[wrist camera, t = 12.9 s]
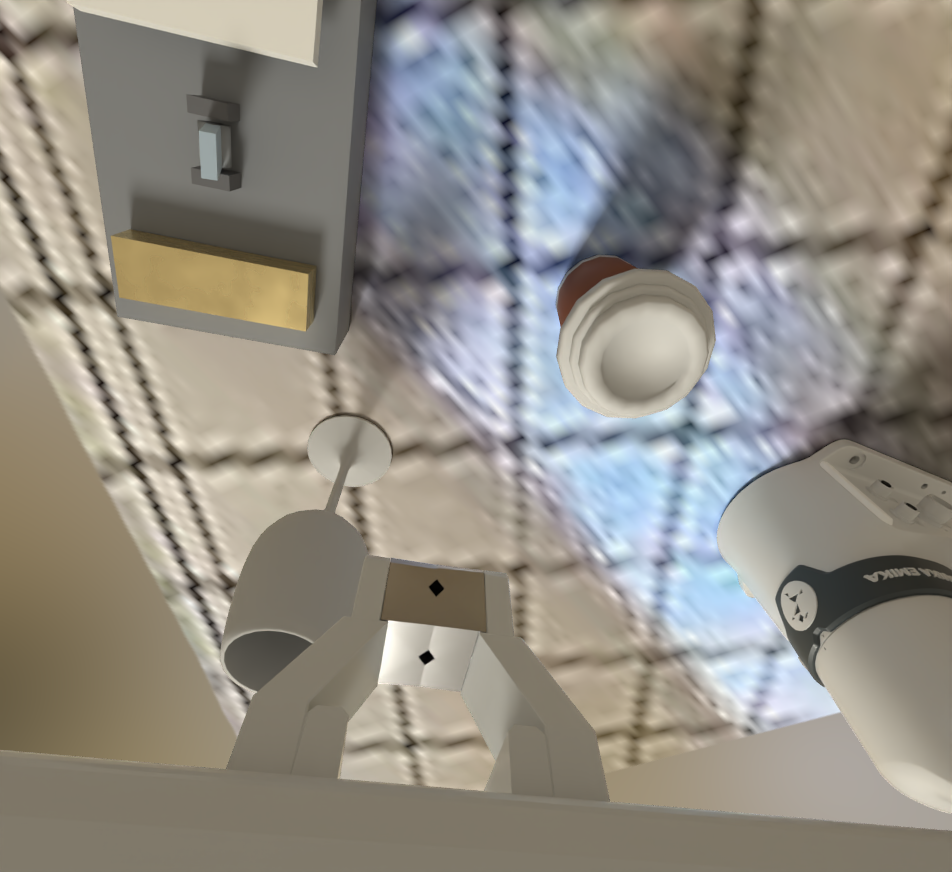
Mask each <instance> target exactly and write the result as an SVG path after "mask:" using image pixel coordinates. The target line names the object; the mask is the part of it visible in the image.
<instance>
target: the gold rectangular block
mask: <svg viewBox="0 0 952 872" xmlns="http://www.w3.org/2000/svg"><path fill="white" fill-rule="evenodd" d="M111 241H112V248H113V256H114V263H115V270H116V277H117V284H118V292H119V298H125V299H130V300H135V301H141V302H146V303H152V304H157V305H163V306H168V307H174V308H179V309H185V310H190V311H196V312H201V313H207V314H212V315H218V316H223V317H229V318H234V319H240V320H245V321H251V322H256V323H262V324H267V325H273V326H278V327H284V328H289V329H295V330H300V331H307V329H308V328H309V327H310V325H311V324H312V323H313V321H314V307H315V287H316V267H317V266H314V265H309V264H304V263H299V262H294V261H289V260H284V259H279V258H274V257H268V256H263V255H258V254H253V253H248V252H243V251H238V250H233V249H228V248H223V247H218V246H213V245H207V244H202V243H197V242H192V241H187V240H182V239H177V238H172V237H167V236H162V235H157V234H151V233H146V232H141V231H136V230H131V229H129V230H126V231H123V232H120V233H117V234H114V235H111Z"/></svg>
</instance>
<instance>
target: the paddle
mask: <svg viewBox="0 0 952 872" xmlns="http://www.w3.org/2000/svg"><path fill="white" fill-rule="evenodd" d="M197 125H198V144H199V162H200V164H201V178H203V179H210V180H216V181H218V178H219V175H220V172H221V169H222V168H231V167H232V159H231V126H229V125H225V124H221V123H217V122H212V121H205V120H197Z"/></svg>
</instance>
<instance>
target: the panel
mask: <svg viewBox="0 0 952 872" xmlns="http://www.w3.org/2000/svg"><path fill="white" fill-rule="evenodd" d="M376 4H377V0H323V7H322V19H321V32H320V44H319V57H318V68H316V67H312V66H308V65H304V64H300V63H295V62H291V61H287V60H283V59H279V58H274V57H270V56H266V55H262V54H258V53H254V52H249V51H245V50H241V49H237V48H233V47H228V46H224V45H220V44H216V43H212V42H208V41H203V40H199V39H195V38H191V37H187V36H182V35H178V34H174V33H170V32H166V31H162V30H157V29H153V28H149V27H145V26H141V25H137V24H132V23H128V22H124V21H120V20H116V19H111V18H107V17H103V16H99V15H95V14H91V13H86V12H82V11H80V10H78V9H76V8H75V7H73V8H74V15H75V22H76V29H77V36H78V43H79V50H80V57H81V64H82V71H83V78H84V85H85V92H86V99H87V106H88V113H89V120H90V127H91V134H92V141H93V148H94V155H95V162H96V169H97V176H98V183H99V190H100V197H101V204H102V211H103V218H104V225H105V232H106V239H107V246H108V253H109V260H110V267H111V274H112V281H113V288H114V295H115V302H116V309H117V316H118V317H123V318H129V319H135V320H140V321H146V322H151V323H157V324H163V325H168V326H174V327H179V328H185V329H191V330H196V331H202V332H208V333H213V334H219V335H224V336H230V337H236V338H241V339H247V340H252V341H258V342H264V343H269V344H275V345H281V346H286V347H292V348H297V349H303V350H309V351H314V352H320V353H325V354H331V355H335V354H336V353H337V351H338V349H339V347H340V345H341V343H342V342H343V340H344V338H345V336H346V334H347V332H348V331H349V322H350V310H351V298H352V286H353V275H354V263H355V251H356V239H357V228H358V216H359V204H360V192H361V180H362V169H363V157H364V145H365V133H366V122H367V110H368V98H369V86H370V75H371V63H372V51H373V39H374V28H375V16H376ZM197 120H205V121H212V122H217V123H221V124H225V125H229V126H231V159H232V167H231V168H222V169H221V172H220V175H219V178H218V181H216V180H210V179H203V178H201V164H200V162H199V144H198V125H197ZM129 229H131V230H136V231H141V232H146V233H151V234H157V235H162V236H167V237H172V238H177V239H182V240H187V241H192V242H197V243H202V244H207V245H213V246H218V247H223V248H228V249H233V250H238V251H243V252H248V253H253V254H258V255H263V256H268V257H274V258H279V259H284V260H289V261H294V262H299V263H304V264H309V265H314V266H317V267H316V287H315V307H314V321H313V323H312V324H311V325H310V327H309V328H308V329H307V331H300V330H295V329H289V328H284V327H278V326H273V325H267V324H262V323H256V322H251V321H245V320H240V319H234V318H229V317H223V316H218V315H212V314H207V313H201V312H196V311H190V310H185V309H179V308H174V307H168V306H163V305H157V304H152V303H146V302H141V301H135V300H130V299H125V298H119V292H118V284H117V277H116V270H115V263H114V256H113V248H112V241H111V235H114V234H117V233H120V232H123V231H126V230H129Z"/></svg>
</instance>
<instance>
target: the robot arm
mask: <svg viewBox="0 0 952 872" xmlns="http://www.w3.org/2000/svg"><path fill="white" fill-rule="evenodd" d="M852 457H853V458H852ZM717 544H718V548H719V551H720V553H721V555H722V557H723V558H724V560H725V561H726V562H727V563H728V564H729V565H730V566H731V567H732V568H733V569H734V570H735V571H736V573H737V575H738V581H739V584H740V587H741V588H742V590H743V591H744V592H745V594H746V595H747V596H749V597H752V598H756V600H757V601H758V602H759V604H760V605H761V606H762V607H763V609H764V610H765V611H766V613H767V614H768V615H769V617H770V618H771V619H772V621H773V622H774V623H775V625H776V626H777V627H778V628H779V630H780V631H781V632H782V634H783V635H784V636H785V637H786V639H787V640H788V641H789V642H790V643H791V645H792V646H793V648H794V650H795V651H796V653H797V654H798V656H799V657H798V658H799V660H800V661H801V663H802V665H803V666H804V667H805V668H806V669H807V670H808V671H809V672H810V674H811V675H812V677H813V678H814V679H815V680H816V681H817V682H818V683H819V684H820V685H822V686H823V687H825V688H826V689H827V691H828V692H829V694H830V695H831V697H832V699H833V700H834V702H835V703H836V705H837V706H838V708H839V710H840V711H841V713H842V714H843V716H844V718H845V719H846V721H847V722H848V724H849V725H850V727H851V729H852V730H853V732H854V733H855V735H856V737H857V738H858V739H859V741H860V743H861V744H862V746H863V748H864V749H865V751H866V752H867V754H868V755H869V757H870V759H871V760H872V762H873V763H874V765H875V766H876V768H877V770H878V771H879V773H880V774H881V775H882V776H883V777H884V778H885V780H886V781H888V783H889V784H891V785H892V786H893V787H894V788H895V789H897V790H898V791H899V792H901V793H902V794H904V795H905V796H907V797H909V798H911V799H912V800H915V801H917V802H919V803H921V804H923V805H925V806H928V807H931V808H933V809H936V810H939V811H942V812H946V813H950V814H952V482H950V481H947V480H945V479H942V478H940V477H938V476H935V475H933V474H930V473H928V472H925V471H923V470H921V469H918V468H916V467H913V466H911V465H908V464H906V463H904V462H901V461H899V460H896V459H894V458H891V457H889V456H887V455H884V454H882V453H879V452H877V451H875V450H872V449H870V448H867V447H865V446H862V445H860V444H858V443H855V442H853V441H850V440H846V439H842V440H838V441H835V442H833V443H831V444H829V445H828V446H826V447H824V448H823V449H821V450H820V451H818V452H816V453H815V454H814V455H812V456H811V457H809V458H807V459H804V460H802V461H799V462H796V463H793V464H789V465H786V466H783V467H781V468H778V469H776V470H773V471H771V472H769V473H767V474H765V475H763V476H762V477H760V478H758V479H757V480H755V481H754V482H752V483H751V484H750V485H748V486H747V487H746V488H745V489H743V490H742V491H741V492H740V493H739V494H738V495H737V496H736V497H735V498H734V499H733V500H732V502H731V503H730V504H729V506H728V507H727V509H726V510H725V512H724V514H723V516H722V518H721V520H720V523H719V526H718V530H717ZM389 564H390V566H389ZM388 570H389V572H388ZM387 577H388V578H387ZM386 583H387V584H386ZM378 683H381V684H394V685H407V686H419V687H427V688H434V689H441V690H449V691H456V692H461V696H462V698H463V700H464V702H465V703H466V705H467V707H468V709H469V711H470V713H471V715H472V717H473V719H474V721H475V723H476V725H477V726H478V728H479V730H480V732H481V734H482V736H483V738H484V740H485V742H486V744H487V746H488V747H489V749H490V751H491V753H492V755H493V757H494V759H495V761H496V762H495V765H494V767H493V770H492V772H491V775H490V777H489V780H488V782H487V784H486V787H485V789H484V791H477V790H465V789H453V788H441V787H429V786H418V785H406V784H394V783H382V782H370V781H359V780H347V779H340V774H341V767H342V760H343V753H344V746H345V739H346V732H347V725H348V722H349V720H350V719H351V718H352V717H353V715H354V714H355V713H356V712H357V710H358V709H359V708H360V707H361V705H362V704H363V703H364V702H365V700H366V699H367V698H368V697H369V695H370V694H371V693H372V692H373V690H374V689H375V688H376V687H377V684H378ZM0 872H952V831H948V830H937V829H925V828H913V827H901V826H890V825H877V824H865V823H854V822H843V821H830V820H819V819H806V818H796V817H784V816H771V815H760V814H748V813H737V812H725V811H713V810H701V809H690V808H677V807H666V806H654V805H643V804H630V803H618V802H610V799H609V794H608V789H607V785H606V780H605V775H604V771H603V766H602V761H601V756H600V752H599V747H598V742H597V738H596V733H595V730H594V729H593V728H592V727H591V725H590V724H589V723H588V722H587V720H586V719H585V718H584V717H583V715H582V714H581V713H580V711H579V710H578V709H577V708H576V706H575V705H574V704H573V703H572V701H571V700H570V699H569V698H568V696H567V695H566V694H565V692H564V691H563V690H562V689H561V687H560V686H559V685H558V684H557V682H556V681H555V680H554V679H553V677H552V676H551V675H550V673H549V672H548V671H547V670H546V668H545V667H544V666H543V665H542V663H541V662H540V661H539V660H538V658H537V657H536V656H535V655H534V653H533V652H532V651H531V649H530V648H529V647H528V646H527V644H526V643H525V642H524V641H523V639H522V638H520V637H514V629H513V619H512V609H511V600H510V590H509V580H508V576H507V574H506V573H500V572H491V571H482V570H474V569H466V568H458V567H450V566H442V565H433V564H427V563H420V562H414V561H408V560H401V559H395V558H391V561H390V558H385V557H379V556H373V555H367V554H366V557H365V559H364V562H363V567H362V571H361V576H360V580H359V584H358V589H357V593H356V598H355V602H354V607H353V611H352V615H351V617H347V616H343V617H342V618H341V619H340V620H339V621H338V622H337V623H335V624H334V625H333V626H332V627H331V628H330V629H329V630H327V631H326V632H325V633H324V634H323V635H322V636H321V637H320V638H318V639H317V640H316V641H315V642H314V643H313V644H312V645H310V646H309V647H308V648H307V649H306V650H305V651H304V652H302V653H301V654H300V655H299V656H298V657H297V658H296V659H294V660H293V661H292V662H291V663H290V664H289V665H288V666H286V667H285V668H284V669H283V670H282V671H281V672H280V673H278V674H277V675H276V676H275V677H274V678H273V679H272V680H270V681H269V682H268V683H267V684H266V685H265V686H264V687H262V688H261V689H260V690H259V691H258V692H257V693H256V694H254V695H253V697H252V700H251V703H250V705H249V708H248V711H247V713H246V716H245V719H244V721H243V724H242V727H241V729H240V732H239V735H238V738H237V740H236V743H235V746H234V749H233V751H232V754H231V756H230V759H229V762H228V765H227V767H226V769H217V768H205V767H194V766H181V765H170V764H159V763H147V762H135V761H123V760H112V759H99V758H88V757H76V756H65V755H53V754H41V753H30V752H17V751H5V750H0Z"/></svg>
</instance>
